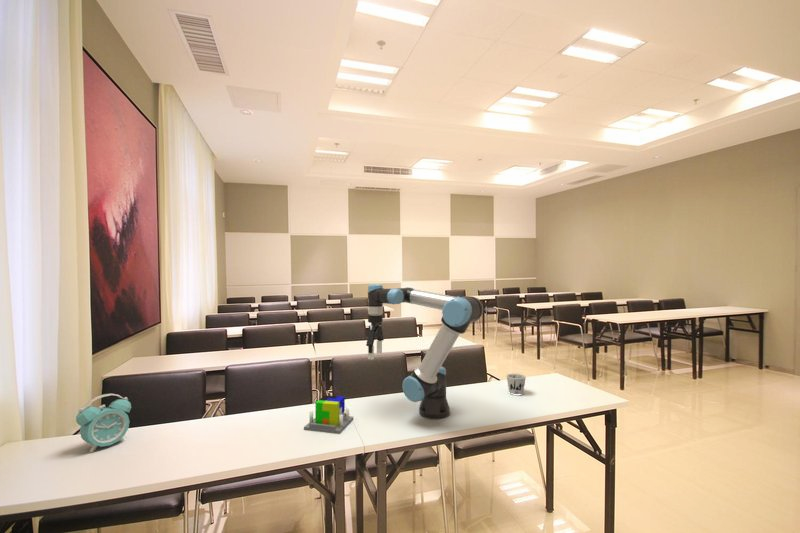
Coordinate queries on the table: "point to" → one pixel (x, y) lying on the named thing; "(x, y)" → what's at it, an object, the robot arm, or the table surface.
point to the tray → (329, 428)
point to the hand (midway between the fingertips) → (375, 356)
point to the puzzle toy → (329, 410)
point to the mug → (516, 383)
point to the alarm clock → (104, 422)
